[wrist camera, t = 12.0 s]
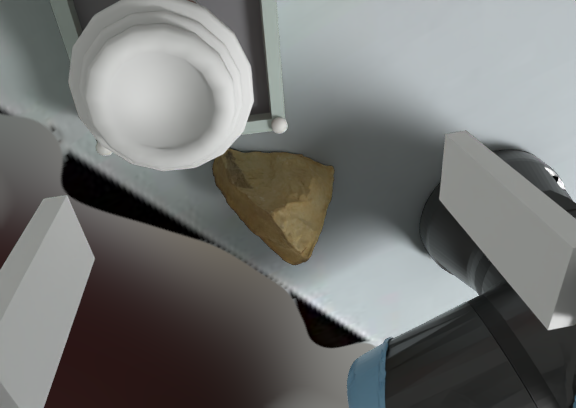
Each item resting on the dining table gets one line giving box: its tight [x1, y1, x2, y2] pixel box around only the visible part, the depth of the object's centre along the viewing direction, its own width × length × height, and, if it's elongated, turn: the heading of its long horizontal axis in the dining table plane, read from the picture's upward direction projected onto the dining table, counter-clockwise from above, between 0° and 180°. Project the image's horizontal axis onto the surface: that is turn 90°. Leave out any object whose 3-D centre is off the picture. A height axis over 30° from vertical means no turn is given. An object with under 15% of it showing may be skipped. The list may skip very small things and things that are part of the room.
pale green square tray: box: [49, 0, 288, 156], centre depth 32 cm, size 14×14×5 cm
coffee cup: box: [68, 0, 254, 171], centre depth 26 cm, size 9×9×12 cm
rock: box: [212, 148, 334, 265], centre depth 39 cm, size 11×9×10 cm
